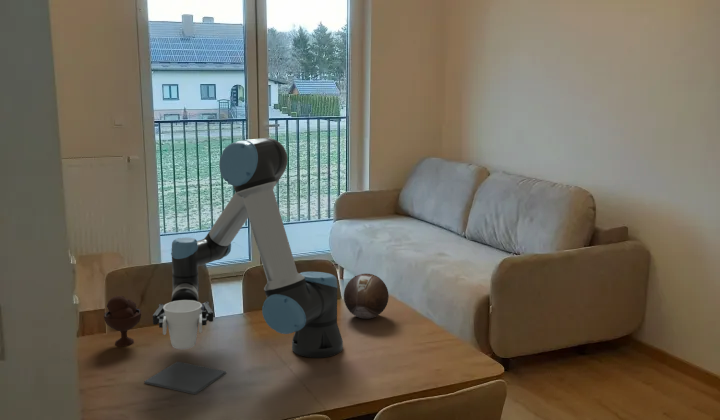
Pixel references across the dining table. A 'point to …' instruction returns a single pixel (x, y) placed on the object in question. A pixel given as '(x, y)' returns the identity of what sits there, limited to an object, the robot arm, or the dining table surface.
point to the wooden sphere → (366, 296)
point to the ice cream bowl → (122, 317)
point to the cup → (183, 322)
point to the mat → (185, 377)
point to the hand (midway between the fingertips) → (182, 328)
